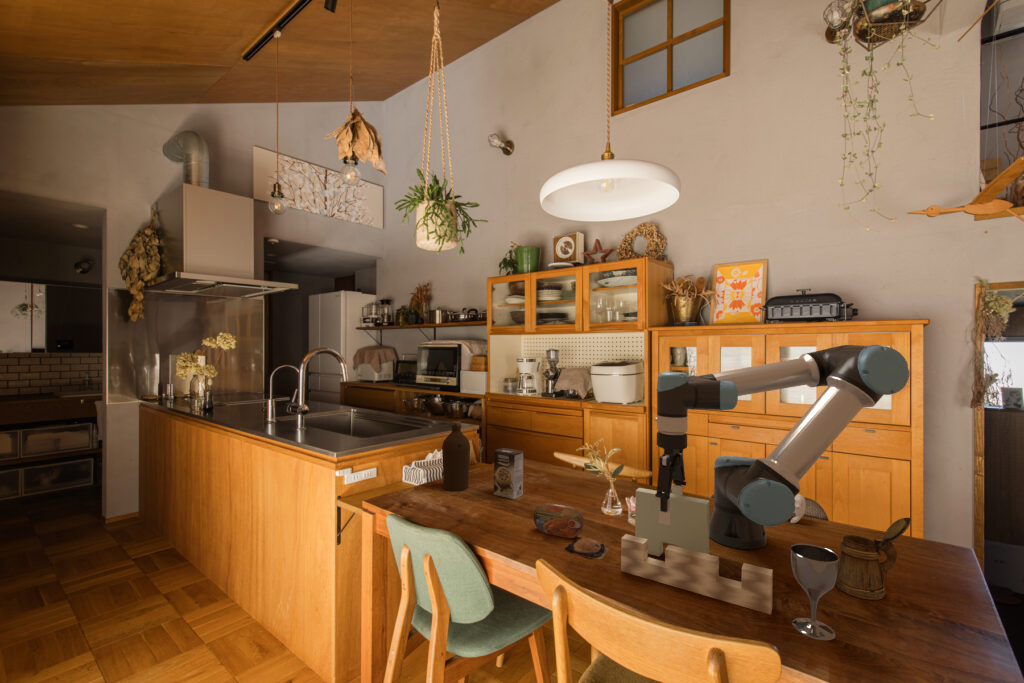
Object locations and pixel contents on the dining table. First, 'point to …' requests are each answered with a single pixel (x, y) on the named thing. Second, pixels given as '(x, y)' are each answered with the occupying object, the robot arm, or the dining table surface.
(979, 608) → the dining table surface
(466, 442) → the olive oil
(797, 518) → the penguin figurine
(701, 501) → the sage board
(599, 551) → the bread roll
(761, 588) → the notched fence
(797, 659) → the dining table surface
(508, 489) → the coffee box
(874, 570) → the wooden mug
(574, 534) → the tin
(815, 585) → the wine glass
